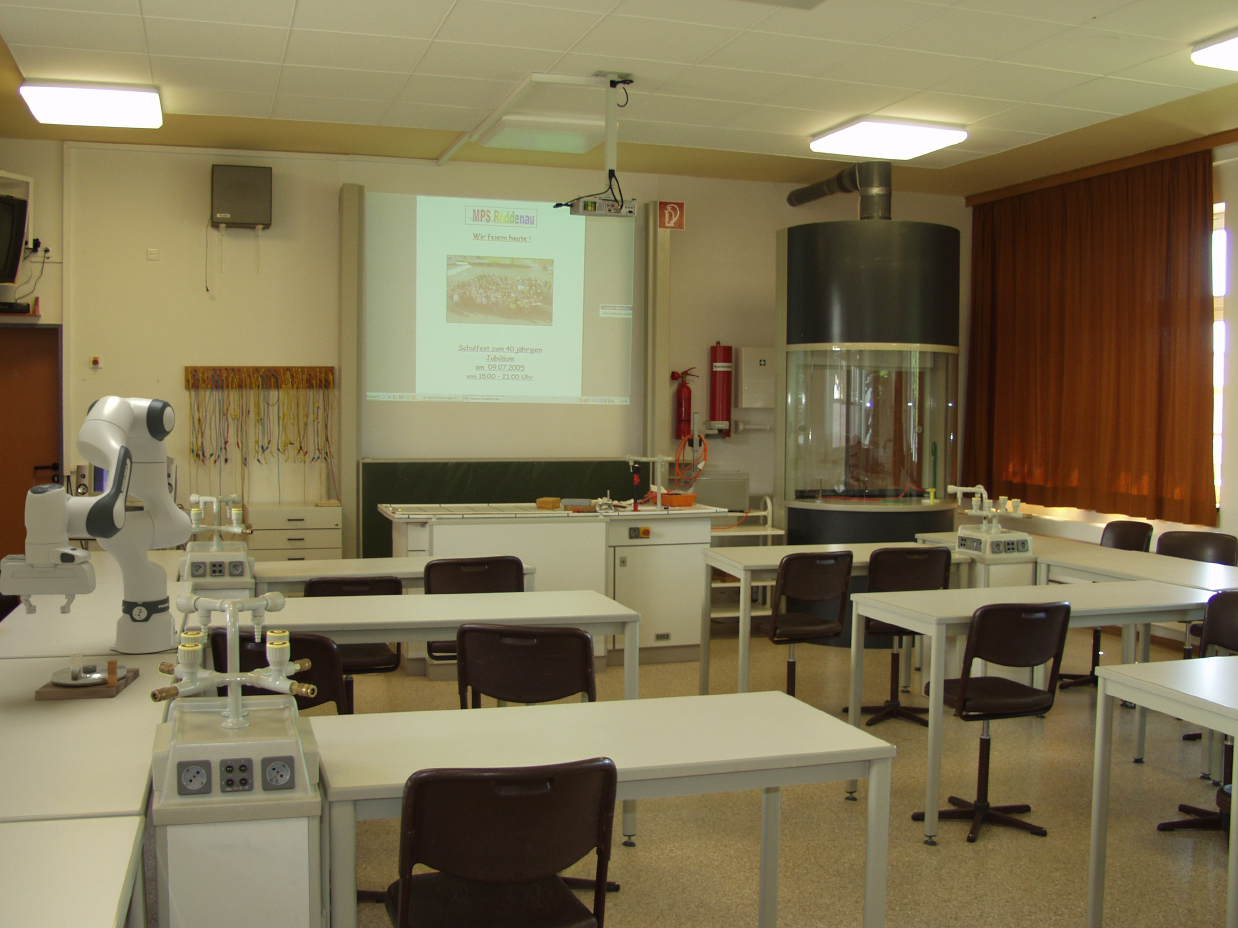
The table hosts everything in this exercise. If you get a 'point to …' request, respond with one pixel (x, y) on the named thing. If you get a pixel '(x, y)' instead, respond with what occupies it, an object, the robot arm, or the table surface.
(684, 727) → the table surface
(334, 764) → the table surface
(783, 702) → the table surface
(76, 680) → the dial
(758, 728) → the table surface
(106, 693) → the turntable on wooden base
